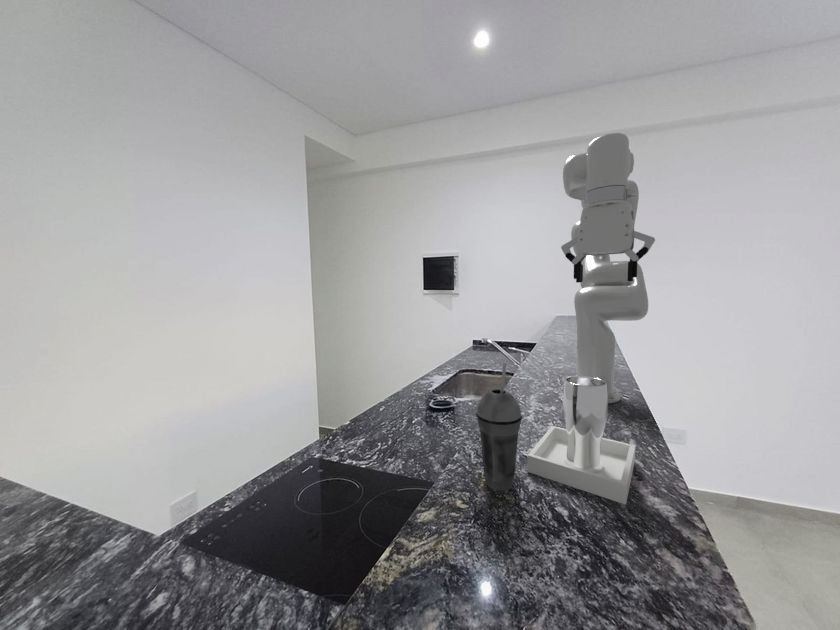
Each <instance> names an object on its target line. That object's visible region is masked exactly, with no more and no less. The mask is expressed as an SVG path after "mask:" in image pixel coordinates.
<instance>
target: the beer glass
mask: <svg viewBox="0 0 840 630" xmlns="http://www.w3.org/2000/svg"><path fill="white" fill-rule="evenodd" d="M608 408H609V403H608V397H607V383H606V382H605V381H604V380H601V379H598V378H594V377H588V376H576V375H570V376H566V377H565V378H564V386H563V394H562V411H563V418H564V424H565V429H566V430H567V438H568V445H567V451H566V455H565V461H566V463H567V464H568V465H570V466H573V467H576V468H580V469H583V470H586V471H590V472H593V473H594V472H599V471H601V470H602V469H603V462H602V457H601V442H602V438H604V437H603V436H604V433H605V432H604V431H605V428H606V423H607V419H608V411H609V410H608Z"/></svg>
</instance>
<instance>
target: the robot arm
mask: <svg viewBox="0 0 840 630" xmlns="http://www.w3.org/2000/svg"><path fill="white" fill-rule="evenodd" d="M629 147H630V140H629V137H628V136H627V135H626V134H625V133H621V132H614V133H611V132H610V133H606V134H603V135H600V136H598V137H596V138H594V139H593V140H592V141H590V143H589V144H588V146H587V148H586V152H582V153H576V154H574V155H570V156H569V157H568V158H567V159H566V161H565V162H564V165H563V169H562V181H563V188H564V191H565V194H566V195H567V196H568V197H569V198H571V199H574V200H577V201H580V204H581V208H582V211H581V214H580V219H579V221H577V222H575V223H574V224H573V225H572V228H571V232H570V236H571V237H570V238H571V240H570V241H568V242H566V243H564V244H562V245H561V247H560V249H561V251H562V252H563V254H564V256H565V258H566V259H567V260H568V261H570V263H571V264H573V279H574V280H575V282H576V283H580V287H581V288H580V289H579V290H577V292H576V293H575V295H574V299H573V300H574V301H573V302H574V303H573V304H574V310H575V317H576V319H575V320H576V375H575V376H588V377H594V378H598V379H601V380H604V381H605V382H606V383H607V397H608V404H614V403H618V402H620V400H621V395H620V394H619V392H617V391H615V389H614V388H615V364H616V363H615V361H616V359H615V358H616V357H615V355H616V335H615V333H614V332H613V330H612V329H611V328H610V327H609V326H608V325H607V324H606V323H605V322H607V321H609V322H610V321H624V322H629V321H630V322H631V321H634V322H635V321H639V320H642V319H644V318H645V317H646V315H647V314H648V312H649V297H648V292H647V287H646V282H645V277H644V273H643V272H644V271H643V269H642V267H641V265H640V264H639V262H638V261H640V260H641V259H642V258H643V257H644V256H645V255H647V254H648V252H649V251H650V250H651V248H652V246H653V244H654V243H655V242H656V238H655V237H654V236H651V235H648V234H645V233H641V232H640V231H636V230H635V223H636V219H637V211H638V206H639V193H640V191H639V187H638V185H637V183H636V182H635V181H634V180H631V179H629V177H630V175H631V174H632V173H633V170H634V166H635V160H634V159H635V158H634V153H632V152H631V150H630V148H629ZM628 179H629V180H628ZM635 239H636V240H639V241H642V242H644V244H643V246H642V247H641V248H640V249H639V250H638V251H637V252H635V251H634V246H635ZM571 249H572V250H573V252H574V254H575V255H574V254H573V253H572V251H571ZM618 254H619V255H620V254H621V255H622V254H625V255H626V256H627V257H628V258H629V260H620V261H617V260H616V261H615V260H614V261H612V260H611V257H610V255H618Z"/></svg>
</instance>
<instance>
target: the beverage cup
mask: <svg viewBox="0 0 840 630" xmlns="http://www.w3.org/2000/svg"><path fill="white" fill-rule="evenodd" d="M506 370H507V362H503V363H502V371H501V379H500V380H501V381H500V382H501V384H500V389H499V388H498V389H492V390H489V391H487V392H485V393H484V394H483V395H482V397H481V398H480V400H479V401H478V404H477V408H476V409H477V410H476V413H475V415H476V418H477V423H478V428H479V434H480V445H481V455H482V466H483V474H484V482H485V484H486V486H487V487H489V488H490V489H492V490H494V491H498V492H499V491H500V492H501V491H502V492H504V491H508V490H510V489H512V487H513V485H514V478H515V474H516V473H515V472H516V463H517V462H516V460H517V451H518V450H517V449H518V439H519V431H520V427H521V423H522V419H523V415H522V411H521V410H522V409H521V407H520V404H519V401H518V400H517V398H516V397H514V395H513V394H512V393H510V392H508V391H506V390H505V382H506Z"/></svg>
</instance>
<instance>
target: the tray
mask: <svg viewBox="0 0 840 630" xmlns="http://www.w3.org/2000/svg"><path fill="white" fill-rule="evenodd" d="M567 445H568V438H567V430H566V428H563V427H558V426H554V425H551V426H550V427H549V428H548V430H547V431H546V432H545V433H544V435H543V436H542V437H541V438H540V439H539V441H538V442H537V443H536V444H535V446H533V447H532V449H531V450H530V452H529V453H528V454H527V455H526V457H527V458H526V462H527V463H526V464H527V466H526V472H527V473H530V474H534V475H536V476H539V477H541V478H545V479H548V480H551V481H555V482H557V483H560V484H563V485H565V486H566V485H567V486H569V487H572V488H575V489H578V490H581V491H584V492H587V493H589V494H593V495H595V496H599V497H601V498H604V499H607V500H610V501H613V502H617V503H619V504H622V505H627V501H628V498H629V497H628V495H629V494H630V493H629V491H630V488H631V487H630V486H631V482H632V477H633V472H634V467H635V463H636V444H631V443H626V442H623V441H618V440H614V439H610V438H606V437H602V442H601V457H602V462H603V469H602V470H601V471H599V472H594V473H593V472H590V471H586V470H583V469H580V468H576V467H573V466H570V465H568V464H567V463H566V461H565V455H566V451H567Z"/></svg>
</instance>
